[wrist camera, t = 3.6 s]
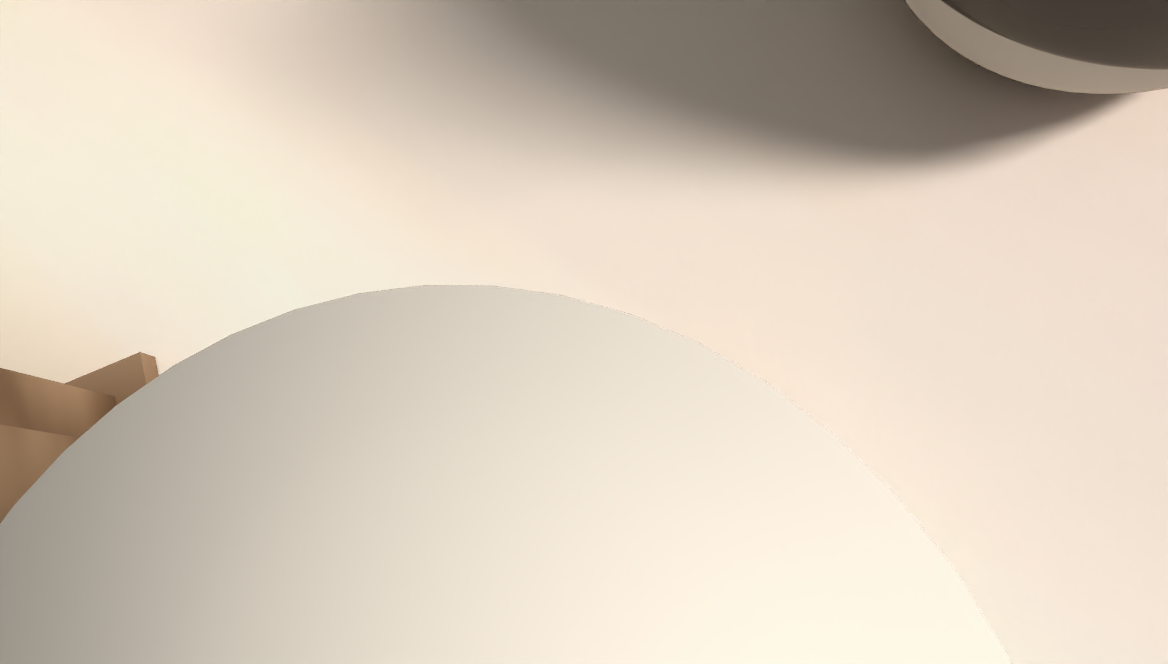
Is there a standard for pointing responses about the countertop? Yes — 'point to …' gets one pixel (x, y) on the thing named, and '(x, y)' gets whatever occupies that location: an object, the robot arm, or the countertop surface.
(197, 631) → the white bottle
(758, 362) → the countertop surface
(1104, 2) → the dark egg shaped speaker
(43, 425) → the holder
